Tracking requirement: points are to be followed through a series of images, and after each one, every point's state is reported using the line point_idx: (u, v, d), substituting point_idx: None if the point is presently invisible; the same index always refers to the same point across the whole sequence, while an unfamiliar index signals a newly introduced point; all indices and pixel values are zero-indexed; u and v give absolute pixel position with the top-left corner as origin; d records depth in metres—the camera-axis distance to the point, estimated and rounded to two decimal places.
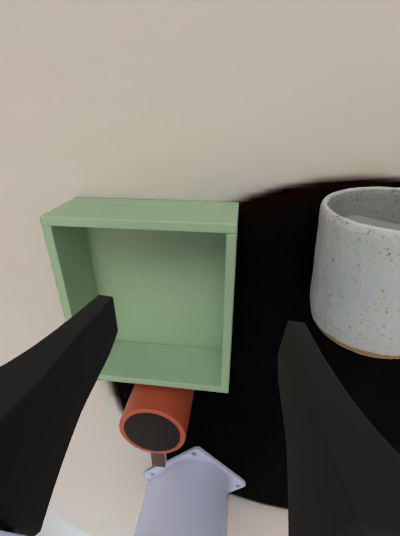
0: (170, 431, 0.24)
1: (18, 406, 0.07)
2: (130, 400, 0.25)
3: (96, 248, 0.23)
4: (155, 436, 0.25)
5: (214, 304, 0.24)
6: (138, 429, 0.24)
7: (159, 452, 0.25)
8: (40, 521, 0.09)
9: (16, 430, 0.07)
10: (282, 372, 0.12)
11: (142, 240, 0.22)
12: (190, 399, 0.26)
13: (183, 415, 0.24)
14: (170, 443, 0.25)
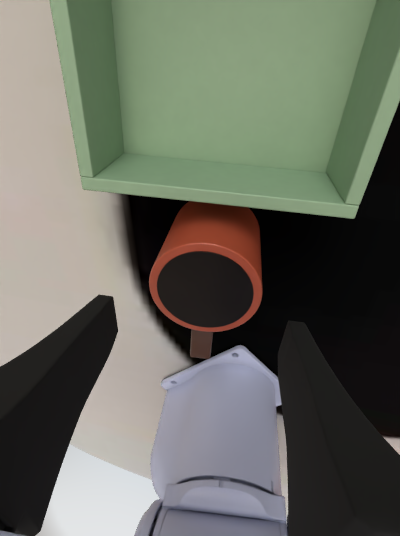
0: (238, 289, 0.14)
1: (18, 406, 0.07)
2: (168, 241, 0.15)
3: None
4: (208, 300, 0.15)
5: (335, 64, 0.13)
6: (182, 285, 0.14)
7: (210, 329, 0.16)
8: (40, 521, 0.09)
9: (16, 430, 0.07)
10: (282, 372, 0.12)
11: None
12: (260, 253, 0.16)
13: (259, 266, 0.14)
14: (232, 312, 0.15)
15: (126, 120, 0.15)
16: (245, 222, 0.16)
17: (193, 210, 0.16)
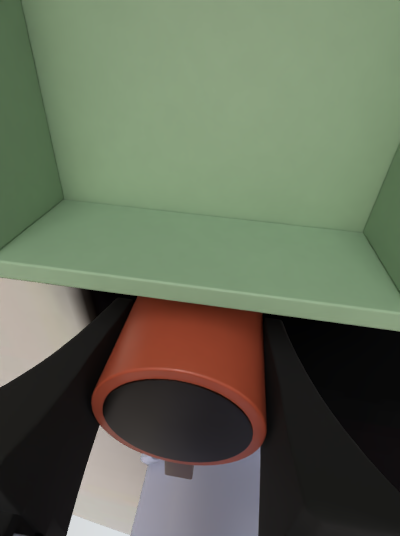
0: (228, 427, 0.09)
1: (50, 411, 0.07)
2: (121, 343, 0.10)
3: None
4: (183, 434, 0.10)
5: (390, 70, 0.08)
6: (141, 416, 0.09)
7: (188, 463, 0.11)
8: (66, 526, 0.09)
9: (47, 436, 0.07)
10: None
11: None
12: (263, 346, 0.11)
13: (261, 386, 0.09)
14: (220, 450, 0.10)
15: (61, 154, 0.10)
16: None
17: None
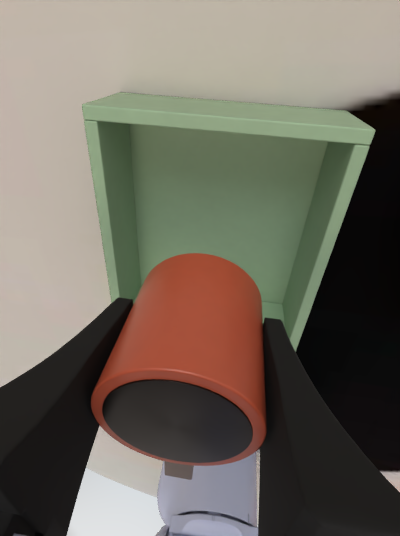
0: (228, 427, 0.09)
1: (50, 412, 0.07)
2: (121, 343, 0.10)
3: (142, 168, 0.18)
4: (183, 434, 0.10)
5: (283, 249, 0.20)
6: (141, 417, 0.09)
7: (188, 463, 0.11)
8: (66, 526, 0.09)
9: (47, 436, 0.07)
10: None
11: (205, 159, 0.17)
12: (263, 346, 0.11)
13: (261, 387, 0.09)
14: (220, 450, 0.10)
15: (143, 268, 0.22)
16: (240, 305, 0.11)
17: (164, 283, 0.11)
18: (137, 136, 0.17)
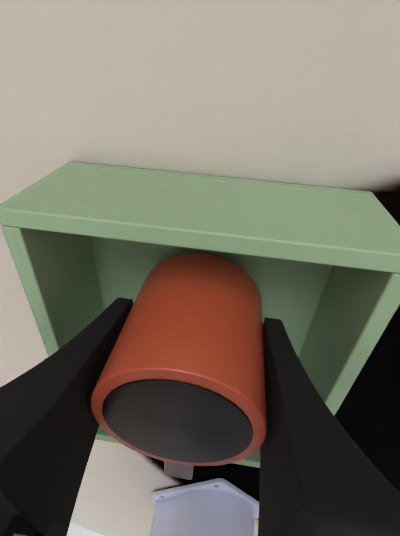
0: (228, 427, 0.09)
1: (50, 411, 0.07)
2: (121, 343, 0.10)
3: (104, 249, 0.14)
4: (183, 434, 0.10)
5: None
6: (141, 416, 0.09)
7: (188, 463, 0.11)
8: (66, 526, 0.09)
9: (47, 436, 0.07)
10: None
11: None
12: (263, 346, 0.11)
13: (261, 387, 0.09)
14: (220, 450, 0.10)
15: None
16: (240, 305, 0.11)
17: (164, 283, 0.11)
18: None
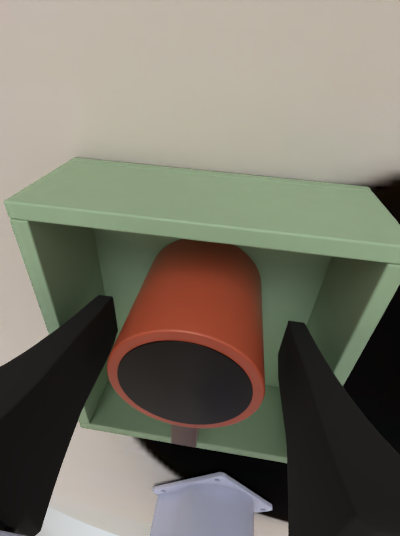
0: (230, 386, 0.10)
1: (18, 406, 0.07)
2: (133, 313, 0.11)
3: (108, 244, 0.14)
4: (190, 395, 0.11)
5: None
6: (152, 378, 0.10)
7: (193, 426, 0.12)
8: (40, 521, 0.09)
9: (15, 431, 0.07)
10: (282, 372, 0.12)
11: None
12: (262, 320, 0.12)
13: (260, 351, 0.10)
14: (223, 411, 0.11)
15: None
16: (241, 282, 0.12)
17: (171, 262, 0.12)
18: None
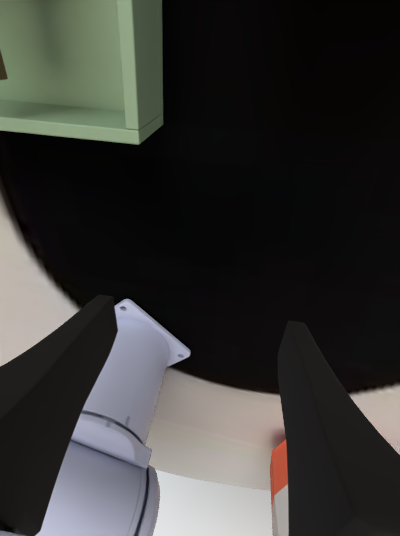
0: None
1: (18, 406, 0.07)
2: None
3: None
4: None
5: None
6: None
7: None
8: (40, 521, 0.09)
9: (15, 431, 0.07)
10: (282, 372, 0.12)
11: None
12: None
13: None
14: None
15: None
16: None
17: None
18: None
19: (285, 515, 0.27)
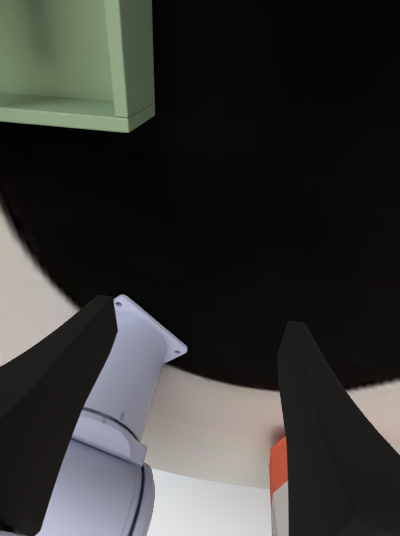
0: None
1: (18, 406, 0.07)
2: None
3: None
4: None
5: None
6: None
7: None
8: (40, 521, 0.09)
9: (16, 430, 0.07)
10: (282, 372, 0.12)
11: None
12: None
13: None
14: None
15: None
16: None
17: None
18: None
19: (284, 513, 0.27)
